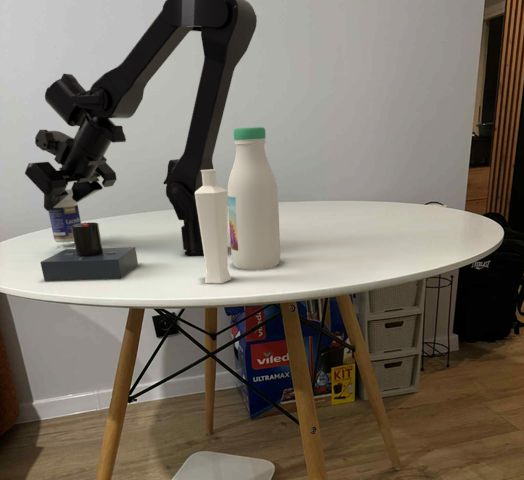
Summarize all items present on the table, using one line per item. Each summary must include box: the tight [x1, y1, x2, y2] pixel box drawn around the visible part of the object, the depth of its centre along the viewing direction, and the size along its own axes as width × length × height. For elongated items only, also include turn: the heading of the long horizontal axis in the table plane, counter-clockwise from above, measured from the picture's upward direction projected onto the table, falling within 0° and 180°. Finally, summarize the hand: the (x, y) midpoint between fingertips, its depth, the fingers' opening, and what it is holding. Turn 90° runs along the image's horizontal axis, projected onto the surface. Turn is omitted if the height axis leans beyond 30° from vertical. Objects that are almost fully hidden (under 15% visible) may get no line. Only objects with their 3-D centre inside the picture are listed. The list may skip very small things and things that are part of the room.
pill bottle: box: [47, 188, 82, 243], centre depth 100 cm, size 6×6×10 cm
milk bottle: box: [227, 126, 281, 270], centre depth 76 cm, size 8×8×20 cm
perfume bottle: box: [195, 168, 232, 284], centre depth 69 cm, size 5×4×15 cm
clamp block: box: [40, 246, 139, 282], centre depth 79 cm, size 12×9×3 cm
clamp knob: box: [71, 222, 103, 256], centre depth 78 cm, size 4×4×5 cm
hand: (57, 207), depth 100 cm, fingers closed on pill bottle, 6 cm apart
